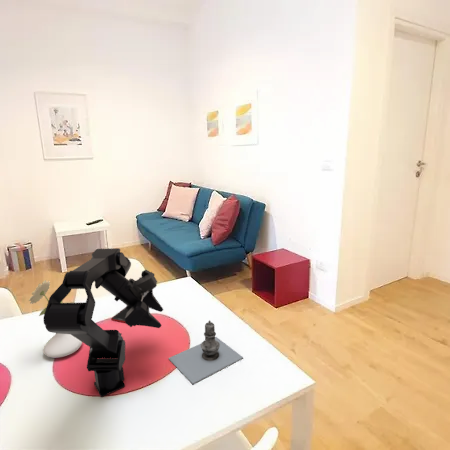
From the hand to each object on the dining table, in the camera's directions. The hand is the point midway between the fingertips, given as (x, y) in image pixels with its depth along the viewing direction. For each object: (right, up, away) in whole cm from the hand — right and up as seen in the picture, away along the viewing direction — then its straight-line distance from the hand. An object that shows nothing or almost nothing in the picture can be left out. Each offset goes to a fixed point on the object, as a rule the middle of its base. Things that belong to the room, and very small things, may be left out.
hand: (161, 318), depth 98 cm
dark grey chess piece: (+14, -13, +4) cm, 20 cm away
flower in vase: (-33, -13, +7) cm, 37 cm away
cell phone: (-18, -7, +31) cm, 37 cm away
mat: (+13, -13, +3) cm, 19 cm away
